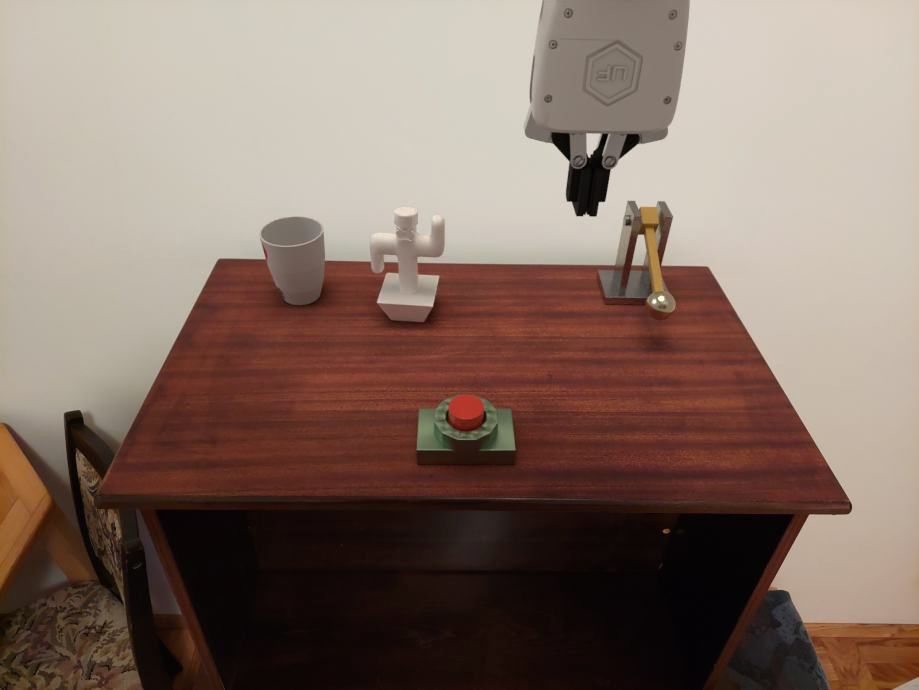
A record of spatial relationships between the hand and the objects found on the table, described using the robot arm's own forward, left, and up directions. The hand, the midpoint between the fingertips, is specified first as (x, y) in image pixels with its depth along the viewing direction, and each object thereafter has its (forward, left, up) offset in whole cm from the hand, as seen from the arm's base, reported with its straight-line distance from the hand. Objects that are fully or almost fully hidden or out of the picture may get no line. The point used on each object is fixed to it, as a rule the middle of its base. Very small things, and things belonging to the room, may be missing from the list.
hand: (583, 208), depth 52 cm
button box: (+5, +8, -27) cm, 28 cm away
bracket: (+14, -29, -27) cm, 42 cm away
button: (+5, +8, -23) cm, 25 cm away
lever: (+10, -26, -20) cm, 34 cm away
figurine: (+28, 0, -27) cm, 39 cm away
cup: (+40, +10, -27) cm, 49 cm away
